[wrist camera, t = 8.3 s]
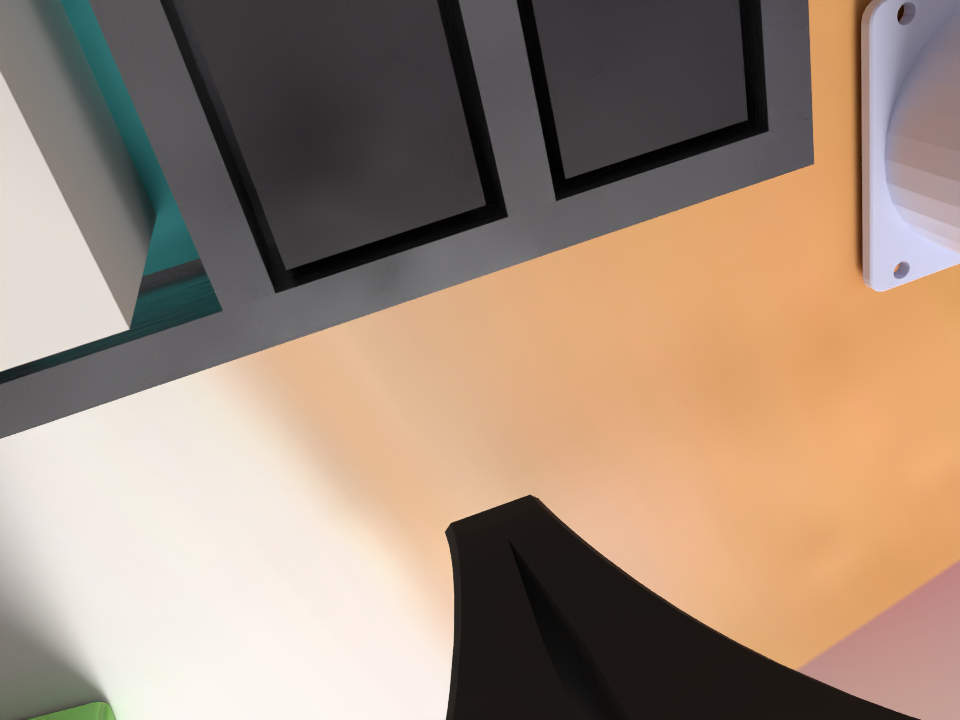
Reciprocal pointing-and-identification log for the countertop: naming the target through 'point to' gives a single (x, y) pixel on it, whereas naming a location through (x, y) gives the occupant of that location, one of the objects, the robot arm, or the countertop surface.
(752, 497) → the countertop surface
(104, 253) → the block
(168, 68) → the rack
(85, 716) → the ink box
